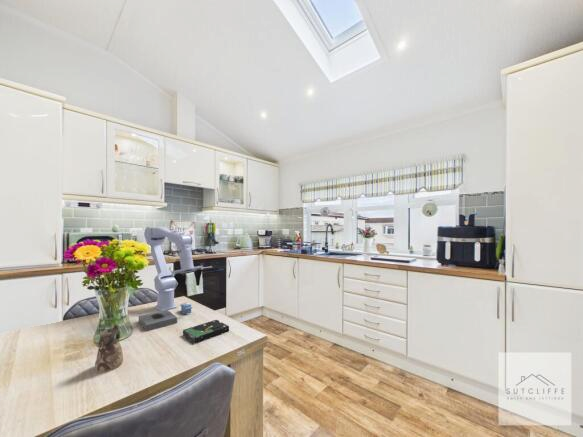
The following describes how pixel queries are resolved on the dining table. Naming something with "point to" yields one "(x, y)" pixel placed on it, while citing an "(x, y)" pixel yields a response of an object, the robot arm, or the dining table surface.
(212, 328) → the disk drive
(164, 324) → the chassis
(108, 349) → the figurine
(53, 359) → the dining table surface
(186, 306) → the servo
